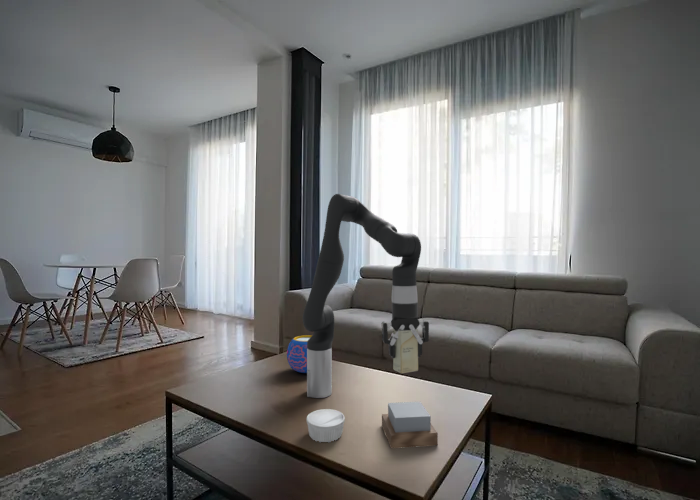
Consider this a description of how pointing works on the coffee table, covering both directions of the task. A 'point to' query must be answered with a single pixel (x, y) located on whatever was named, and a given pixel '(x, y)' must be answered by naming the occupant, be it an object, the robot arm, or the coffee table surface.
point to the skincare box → (405, 352)
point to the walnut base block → (408, 436)
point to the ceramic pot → (298, 353)
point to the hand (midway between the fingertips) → (405, 356)
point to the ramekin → (325, 425)
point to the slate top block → (409, 417)
